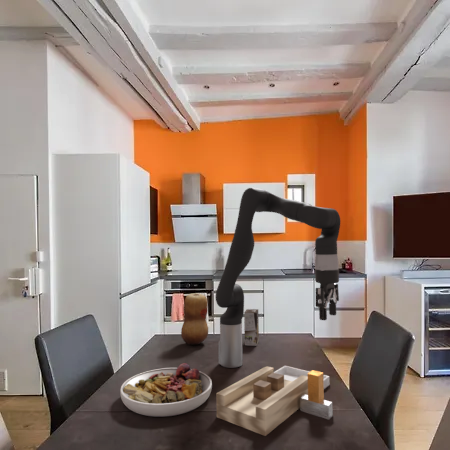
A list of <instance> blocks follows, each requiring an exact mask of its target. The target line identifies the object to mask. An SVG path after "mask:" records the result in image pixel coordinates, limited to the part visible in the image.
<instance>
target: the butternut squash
mask: <svg viewBox="0 0 450 450" xmlns="http://www.w3.org/2000/svg"><path fill="white" fill-rule="evenodd" d="M207 315H208V298H207V296H205V295H204V294H203V293H197V292H195V293H188V295H186V296H185V299H184V302H183V318H184V319H183V324H182V327H181V330H180V331H181V332H180V333H181V334H180V335H181V338H182V341H183V342H184V343H185V344H187V345H200V344H201V343H203V342H204V341H205V340H206V339H207V338H208V336H209V325H208V322H207Z"/></svg>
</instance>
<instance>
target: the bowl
mask: <svg viewBox="0 0 450 450" xmlns="http://www.w3.org/2000/svg"><path fill="white" fill-rule="evenodd" d="M212 388H213V382H212V379H211V377H210V376H209V375H207V374H206V373H205V372H202V371H200V370H198V369H197V368H191V367H190V364H188V363H186V362H184V363H180V364H179V366H177V367H163V368H157V369H151V370H147V371H144V372H141V373H137V374H135V375H133V376H131V377H129V378H128V379H126V380H125V381H124V382H123V383H122V385H121V386H120V399H121V401H122V403H123V404H124V405H125V406H126V408H127V409H129V410H130V411H132V412H133V413H136V414H139V415H142V416H148V417H172V416H177V415H178V416H179V415H182V414H185V413H188V412H191V411H193V410H195V409H197V408H199V407H200V406H201V405H203V404H204V403H205V402H206V401H207V400H208V398H209V397H210V395H211V392H212V390H213V389H212Z"/></svg>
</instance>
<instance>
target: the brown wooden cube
mask: <svg viewBox="0 0 450 450" xmlns="http://www.w3.org/2000/svg"><path fill="white" fill-rule="evenodd" d="M270 396H271V383H269V382H266V381H262V380H260V381H258V382H256V383H254V384H253V397H254V398H257V399H260V400H263V401H265V400H266V399H267V398H269V397H270Z"/></svg>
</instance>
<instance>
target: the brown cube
mask: <svg viewBox="0 0 450 450" xmlns="http://www.w3.org/2000/svg"><path fill="white" fill-rule="evenodd" d="M274 372H275V371H274ZM274 372H273V373H272V374H270V375H268V376H267V382H269V383H271V390H274V391H277V392H278V391H279V390H281V389H282V388H284V375H282V374H278V373H274Z"/></svg>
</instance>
